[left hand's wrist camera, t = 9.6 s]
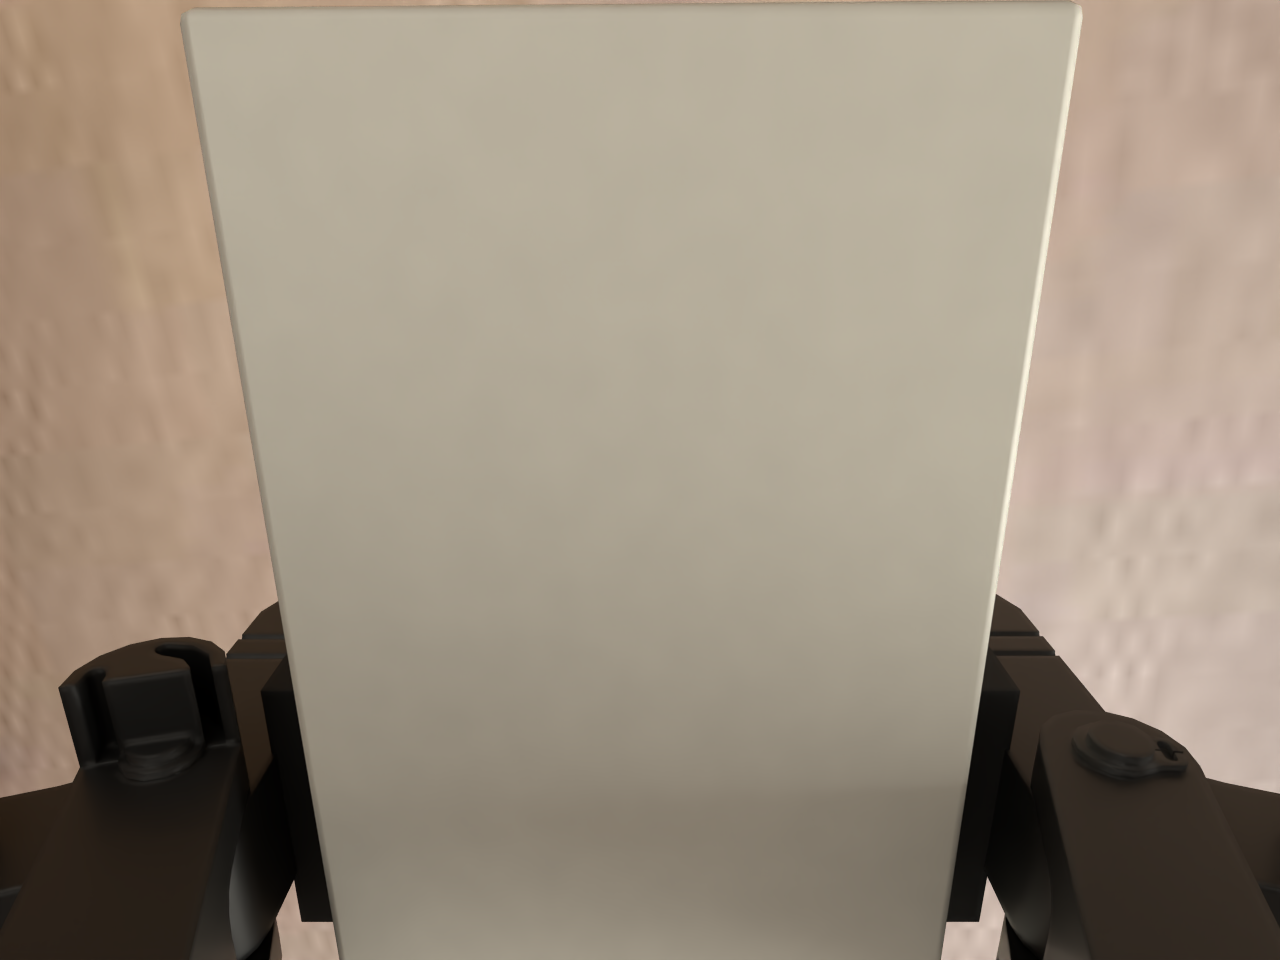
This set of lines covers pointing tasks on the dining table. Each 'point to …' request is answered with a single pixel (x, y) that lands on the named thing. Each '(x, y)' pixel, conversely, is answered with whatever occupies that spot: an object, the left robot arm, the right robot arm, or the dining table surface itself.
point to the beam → (635, 449)
